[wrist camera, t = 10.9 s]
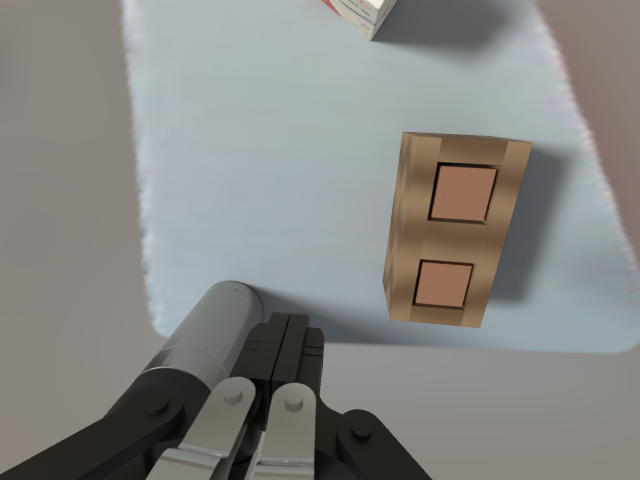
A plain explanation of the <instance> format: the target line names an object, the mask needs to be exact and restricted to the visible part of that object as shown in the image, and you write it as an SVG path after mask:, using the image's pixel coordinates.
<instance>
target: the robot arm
mask: <svg viewBox="0 0 640 480" xmlns="http://www.w3.org/2000/svg"><path fill="white" fill-rule="evenodd" d="M262 315H263V308H262V303H261V301H260V299H259V297H258V296H257V295H256V293H255V292H254V291H253V290H252V289H250V288H249V287H247V286H246V285H243V284H241V283H238V282H233V281H225V282H220V283H217V284H215V285H214V286H212V287H211V288H210V289H209V290H208V291H207V292H206V294H205V295H204V296H203V297H202V299H201V300H200V301H199V302H198V303H197V304H196V306H195V307H194V308H193V309H192V311H191V312H190V313H189V314H188V316H187V317H186V318H185V319H184V320H183V322H182V323H181V324H180V325H179V327H178V328H177V329H176V330H175V331H174V333H173V334H172V335H171V336H170V338H169V339H168V340H167V341H166V343H165V344H164V345H163V346H162V348H161V349H160V350H159V351H158V352H157V354H156V355H155V356H154V357H153V359H152V360H151V361H150V362H149V364H148V365H147V366H146V367H145V369H144V370H143V371H142V372H141V373H140V375H139V376H138V378H136V380H135V381H134V382H133V383H132V385H131V386H130V387H129V389H128V390H127V391H126V392H125V393H124V394H123V395H122V396H121V397H120V398H119V399H118V400H117V402H116V403H115V404H114V405H113V406H112V408H111V409H110V410H109V411H108V412H107V414H106V415H105V416H104V417H103V418H102V419H101V420H99V421H97V422H95V423H93V424H91V425H90V426H88V427H86V428H84V429H82V430H80V431H79V432H77V433H75V434H73V435H71V436H70V437H68V438H66V439H64V440H62V441H60V442H59V443H57V444H55V445H53V446H51V447H49V448H48V449H46V450H44V451H42V452H40V453H38V454H37V455H35V456H33V457H31V458H30V459H28V460H26V461H24V462H22V463H20V464H19V465H17V466H15V467H13V468H11V469H9V470H7V471H6V472H4V473H2V474H0V480H249V477H250V475H251V472H252V469H253V466H254V463H255V460H256V458H257V454H258V444H259V441H260V438H261V434H262V431H266V433H265V438H264V443H263V449H262V455H261V459H260V462H258V463H257V464H256V468H255V472H254V476H253V480H432V479H431V478H430V477H429V476H428V474H427V473H426V472H425V471H424V470H423V469H422V468H421V466H420V465H419V464H418V463H417V462H416V461H415V460H414V458H413V457H411V455H410V454H409V453H408V452H407V451H406V450H405V448H404V447H403V446H402V445H401V444H400V443H399V442H398V441H397V439H396V438H395V437H394V436H393V435H392V434H391V433H390V431H389V430H388V429H387V428H386V427H385V426H384V425H383V423H382V422H381V421H380V420H379V419H378V418H377V417H376V416H375V415H373V414H371V413H370V412H368V411H365V410H359V409H355V410H350V411H348V412H346V413H344V414H343V415H342V414H340V413H338V412H336V411H334V410H332V409H330V408H329V407H327V406H326V405H325V404H324V403H323V401H322V400H321V398H320V396H319V395H320V386H321V377H322V368H323V352H324V336H323V333H322V331H321V329H319V328H309V315H304V314H293V313H292V314H291V313H282V312H273V313H272V315H271V318H270V320H269V323H268V324H265V323H260V321H261V318H262Z"/></svg>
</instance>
